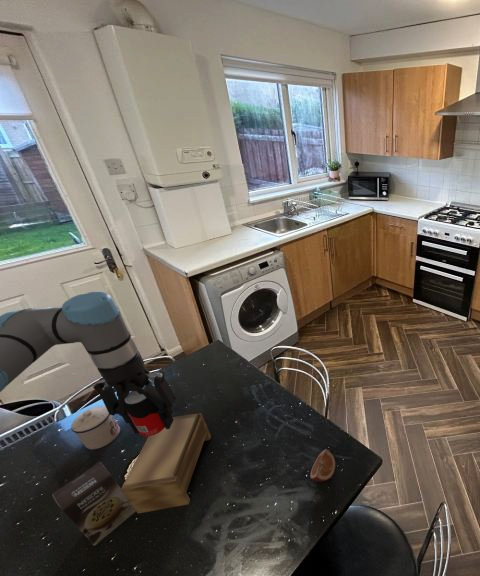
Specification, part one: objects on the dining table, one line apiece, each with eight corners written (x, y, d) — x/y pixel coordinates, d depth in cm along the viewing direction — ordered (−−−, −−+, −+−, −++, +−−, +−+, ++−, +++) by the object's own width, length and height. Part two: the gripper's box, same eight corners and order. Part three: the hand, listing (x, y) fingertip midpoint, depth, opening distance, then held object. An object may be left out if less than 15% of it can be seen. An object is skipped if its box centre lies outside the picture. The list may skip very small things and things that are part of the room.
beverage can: (159, 438, 77) (141, 405, 71) (134, 438, 77) (114, 405, 71) (175, 417, 82) (159, 384, 76) (151, 416, 82) (134, 384, 77)
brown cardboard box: (94, 547, 73) (60, 511, 65) (83, 530, 76) (49, 494, 68) (137, 510, 80) (111, 474, 72) (126, 496, 83) (99, 460, 75)
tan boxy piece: (137, 513, 79) (118, 487, 73) (169, 442, 96) (156, 416, 90) (188, 504, 81) (173, 477, 75) (211, 436, 98) (200, 410, 92)
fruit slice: (318, 456, 93) (316, 446, 90) (339, 460, 92) (338, 450, 89) (306, 485, 86) (304, 474, 83) (330, 490, 85) (328, 479, 82)
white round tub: (123, 438, 97) (107, 413, 92) (85, 456, 92) (66, 431, 86) (118, 414, 105) (103, 389, 100) (83, 430, 100) (65, 405, 94)
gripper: (172, 342, 73) (200, 409, 84) (79, 352, 70) (120, 420, 81) (158, 364, 67) (190, 433, 78) (54, 376, 63) (103, 446, 75)
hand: (154, 426), depth 79 cm, fingers closed on beverage can, 6 cm apart
